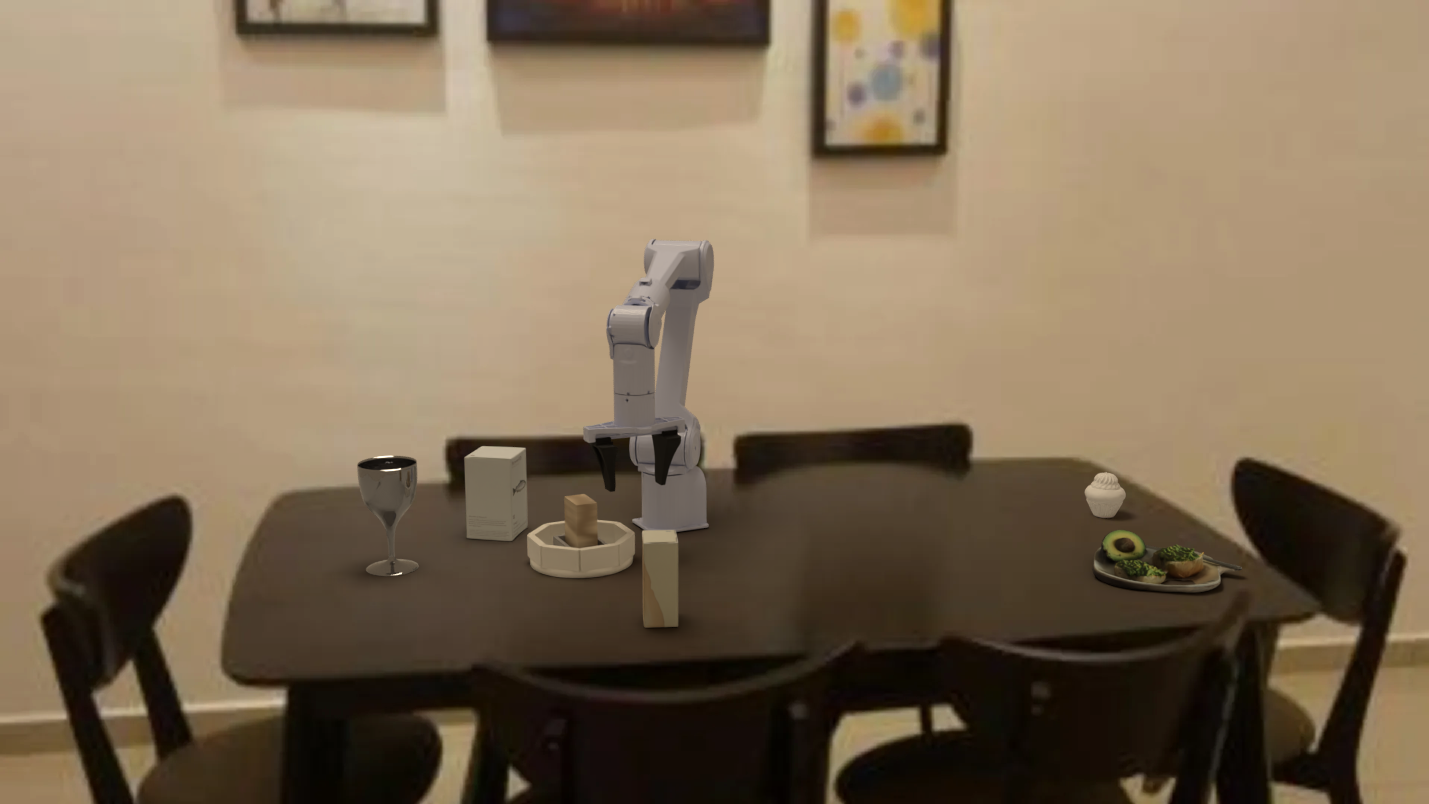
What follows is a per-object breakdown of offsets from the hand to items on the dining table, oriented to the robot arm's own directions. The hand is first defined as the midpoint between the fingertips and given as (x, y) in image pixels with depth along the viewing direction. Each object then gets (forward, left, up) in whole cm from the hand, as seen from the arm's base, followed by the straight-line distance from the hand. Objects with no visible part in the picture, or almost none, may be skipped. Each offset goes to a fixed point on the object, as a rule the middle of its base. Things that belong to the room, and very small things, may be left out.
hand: (635, 486), depth 193 cm
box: (+7, +24, -11) cm, 27 cm away
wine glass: (+32, -11, -11) cm, 35 cm away
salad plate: (-61, +37, -11) cm, 72 cm away
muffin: (-74, +13, -11) cm, 76 cm away
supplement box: (+14, -20, -11) cm, 27 cm away
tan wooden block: (+7, -2, -9) cm, 12 cm away
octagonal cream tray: (+7, -2, -10) cm, 13 cm away
